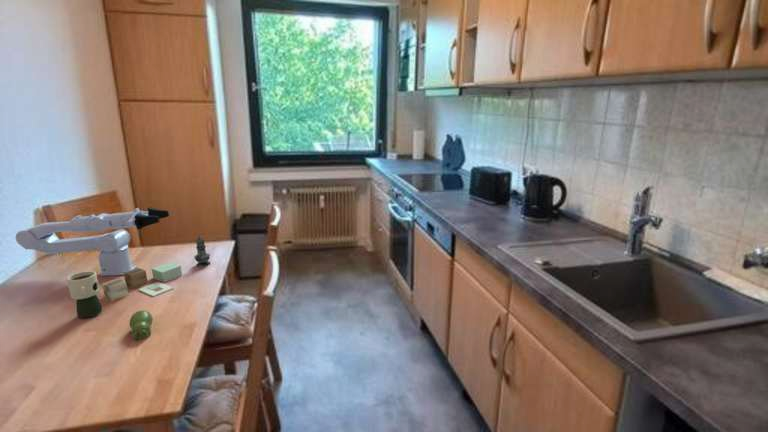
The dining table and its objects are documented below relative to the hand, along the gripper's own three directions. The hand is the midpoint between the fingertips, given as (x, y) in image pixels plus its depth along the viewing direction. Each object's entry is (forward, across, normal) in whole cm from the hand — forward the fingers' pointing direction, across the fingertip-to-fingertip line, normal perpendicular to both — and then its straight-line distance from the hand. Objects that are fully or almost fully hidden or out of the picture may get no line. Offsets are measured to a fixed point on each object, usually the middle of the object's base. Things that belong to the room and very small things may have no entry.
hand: (163, 216), depth 148 cm
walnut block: (-9, -12, +21) cm, 26 cm away
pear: (+9, -44, +23) cm, 50 cm away
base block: (-1, -6, +22) cm, 23 cm away
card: (0, -17, +22) cm, 28 cm away
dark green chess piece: (+8, +5, +23) cm, 25 cm away
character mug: (-12, -33, +21) cm, 41 cm away
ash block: (-11, -21, +21) cm, 32 cm away
